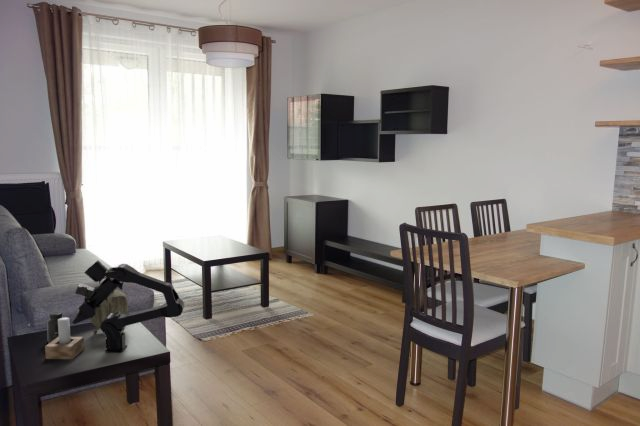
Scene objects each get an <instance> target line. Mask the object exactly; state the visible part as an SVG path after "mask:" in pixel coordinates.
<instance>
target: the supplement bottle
mask: <svg viewBox="0 0 640 426" xmlns="http://www.w3.org/2000/svg"><path fill="white" fill-rule="evenodd" d="M48 317H49V319H48V320H47V321H46V326H47V327H46V331H47V342H48V344H49V343H50V342H52V341H53V340H54V339H56V338H57V337H59V332H58V319H60V318H64V315H63V312H62V311H58V310H57V311H52V312H50V313H49V315H48Z"/></svg>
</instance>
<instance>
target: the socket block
mask: <svg viewBox="0 0 640 426" xmlns="http://www.w3.org/2000/svg"><path fill="white" fill-rule="evenodd" d="M70 339H71V342H70V343H69V344H59V337H57V338H56V339H54V340H53V341H52V342H50V343H49V342H48V344H46V345H45V346H44V352H45V360H73V359H75V357H76V356H78V355H79V354H80V353H81V352H82V351H83V350H85V338H84V336H70Z"/></svg>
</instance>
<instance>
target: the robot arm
mask: <svg viewBox="0 0 640 426" xmlns="http://www.w3.org/2000/svg"><path fill="white" fill-rule="evenodd" d="M84 274H85V275H86V276H87V277H88V278H89V279H91V280H92V281H93V282H95V283H99V282H100V281H101V280H102V279H103V278H104V277H107V278H105V279H103V281H101V282H100V284H99V285H95V287H93V286H90V285H87V284H85V283H82V282H80V283H79V284H78V285H77V287H76V289H75V291H74V293H75V294H76V295H80V296H83V297H84V301H83V302H82V303H81V304H80V305H79V306H78V312H77V313H76V316H75V318H73V320H72V325H76V324H79V323H81V322H83V321H86V320H88V319H89V318H92V317H93V316H94V315H95V314H96V312H97V308H96V307H98V308H99V307H100V305H101V304H102V303H103V302H104V301H105V300H107V299H108V297H109V296H110V295H111V294H112V293H113V292H114V291H115V290H118V288H119V290H120V291H122V290H123V289H124V288H125V286H124V284H126V283H127V284H129V283H130V284H136V285H139V286H142V287H144V288H147V289H150V290H153V291H156V292H159V293H160V294H161V293H162V295H163V296H164V300H165V303H163V304H161V305H158V306H156V307H150V308H148V309H147V308H146V309H143V310H139V311H135V312H130V313H128V314H126V315H124V314H121V312H120V311H118V312H116V313H110V314H109V315H108V316H107V317H106V318H105V319H104V321H103V322H102V323H101V326H100V327H101V328H100V329H101V332H103V333H104V335H105V350H104V352H105V353H122V352H123V351H124V350H125V349H126V348H127V347H128V344H126V333H125V332H124V331H125V329H126V327H127V326H130V325H134V324H139V323H143V322H146V321H151V320H154V319H158V318H177V317H180V316H181V314H182V313H184V312H183V311H184V309H185V302H184V300H182V299H181V298H180V296H179V294H178V292H177V291H176V290H175V288H174V285H173V284H172V283H171V282H166V281H163V280H161V279H158V278H155V277H152V276H150V275H146V274H145V273H141V272H140V271H138V270H137V269H135V268H134V267H132V266H131V265H129V264H128V263H121V264H119V265H118V266H115V267H109V268H107V267H106V266H105V265H103V263H102V262H101V261H100V260H96V261H95V262H94V263H93V264H92V265H90V266H89V267H88V268H87V269H86V270H85V271H84ZM89 320H90V319H89Z"/></svg>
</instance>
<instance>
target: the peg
mask: <svg viewBox="0 0 640 426" xmlns="http://www.w3.org/2000/svg"><path fill="white" fill-rule="evenodd" d="M70 322H71V321H70V317H62V318H60V319H58V332H59V344H69V343H70V342H71V339H70V337H71V326H70V324H71V323H70Z"/></svg>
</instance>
